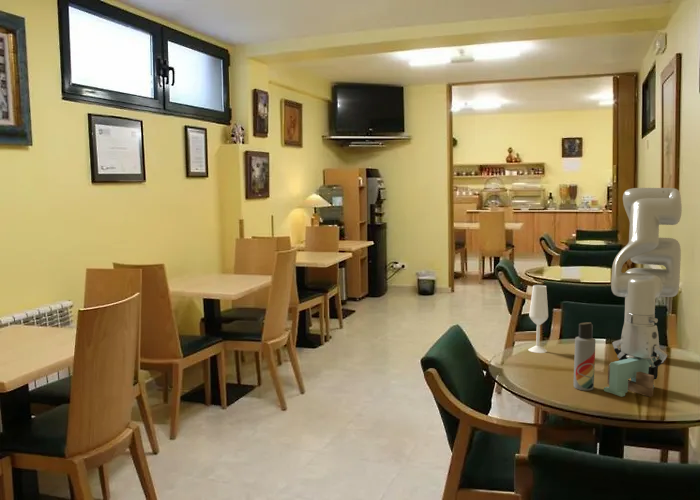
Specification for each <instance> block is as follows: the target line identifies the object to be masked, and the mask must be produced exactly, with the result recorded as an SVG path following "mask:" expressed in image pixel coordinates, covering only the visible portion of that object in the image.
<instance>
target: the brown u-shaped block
mask: <svg viewBox="0 0 700 500" xmlns="http://www.w3.org/2000/svg"><path fill="white" fill-rule="evenodd" d="M609 378H610V363H609V364H608V365H607V384H608V385H609ZM654 381H655V380H654V375H650V374H647V373H643V372H636V382H634V381H631V379H628V391H630V392H633V393H636V394H641V395H643V396H646V397H653V396H654V388H653V385H654V386H655V384H654V383H655V382H654Z"/></svg>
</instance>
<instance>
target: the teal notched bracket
mask: <svg viewBox="0 0 700 500" xmlns="http://www.w3.org/2000/svg"><path fill="white" fill-rule="evenodd" d="M609 364H610V378H609V384H608V386H605V387H603V391H604V392H606V393H610V394H611V395H612V394H613V395H615V396H618V397H625V396H626V393H628V391H629V390H628V380H631V381H634V382H636V372H643V373H647V374H648V371H649V367H651V366H650V364H649V362H648V361H647V359H642V358H638V357H633V358H629V359H624V360H615V361H610V363H609ZM654 388H655V384H654V385H653V389H654Z"/></svg>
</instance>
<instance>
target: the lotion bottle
mask: <svg viewBox="0 0 700 500" xmlns="http://www.w3.org/2000/svg"><path fill="white" fill-rule="evenodd" d="M593 326H594V325H593V324H592V322H591V321H589V322H587V321H585V322H580V323H578V336H575V340H574V359H573V360H574V361H573V362H574V363H573V388H574V389H577V390H579V391H588V392H589V391H593V390H594V387H595V386H594V385H595V365H596V361H595V360H596V339H595V338H593V328H594V327H593Z"/></svg>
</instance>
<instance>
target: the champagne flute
mask: <svg viewBox="0 0 700 500" xmlns="http://www.w3.org/2000/svg"><path fill="white" fill-rule="evenodd" d="M547 293H548V292H547V285H543V284H534V285H532V291H531V297H530V306H529V314H528V317H529V319H530V320H531V321H532V322H533V323H534V324H535V325H536V333H535V334H536V338H535V339H536V341H535V343H536V344H535V345H534V346H532V347H530V348H528V350H527V351H529V352H531V353H535V354H536V353H537V354H544V353H547V352H548V350H547V349H546V348H544V347H542V346H541V345H540V344H541V343H540V339H541V338H540V337H541V336H540V335H541V325H542V324H544V323H545V322H546V321H547V320H548V318H549V307H548V304H549V303H548V294H547Z"/></svg>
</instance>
